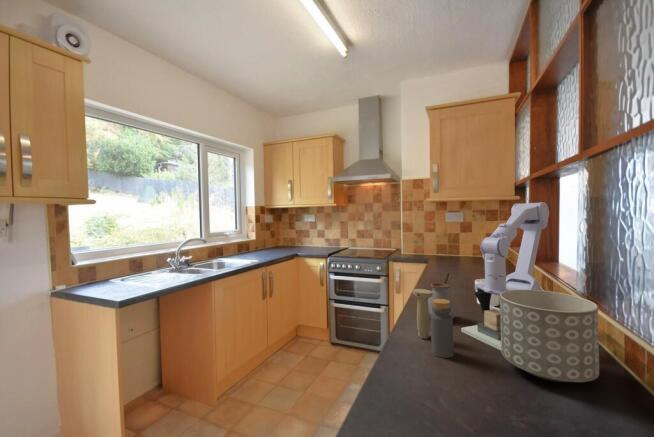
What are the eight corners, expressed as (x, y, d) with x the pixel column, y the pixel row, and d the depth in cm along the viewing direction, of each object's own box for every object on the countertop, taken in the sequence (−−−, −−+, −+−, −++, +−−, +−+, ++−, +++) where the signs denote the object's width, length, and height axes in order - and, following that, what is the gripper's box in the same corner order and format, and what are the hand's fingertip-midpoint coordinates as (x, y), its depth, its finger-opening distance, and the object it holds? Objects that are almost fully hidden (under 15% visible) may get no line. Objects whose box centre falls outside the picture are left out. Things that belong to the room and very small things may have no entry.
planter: (608, 407, 57) (606, 317, 57) (498, 378, 68) (497, 303, 68) (591, 365, 73) (589, 295, 73) (503, 347, 84) (502, 286, 84)
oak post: (494, 330, 93) (494, 309, 93) (507, 335, 89) (506, 313, 89) (484, 332, 92) (484, 310, 92) (496, 337, 88) (496, 315, 88)
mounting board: (490, 325, 100) (489, 305, 100) (536, 344, 85) (536, 320, 85) (461, 331, 96) (460, 310, 96) (504, 352, 81) (503, 327, 81)
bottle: (452, 350, 83) (451, 298, 83) (454, 359, 78) (453, 304, 78) (431, 347, 85) (430, 297, 85) (431, 356, 80) (430, 303, 79)
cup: (506, 307, 120) (506, 283, 120) (482, 307, 120) (482, 284, 120) (493, 300, 130) (492, 278, 130) (471, 300, 130) (470, 279, 130)
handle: (428, 342, 88) (427, 294, 88) (410, 336, 93) (409, 290, 93) (436, 338, 92) (435, 291, 91) (418, 332, 96) (417, 288, 96)
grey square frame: (498, 327, 96) (498, 319, 96) (520, 335, 89) (520, 327, 89) (477, 331, 93) (477, 323, 93) (498, 340, 86) (498, 332, 86)
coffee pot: (452, 326, 101) (451, 284, 101) (420, 320, 108) (419, 280, 108) (464, 309, 118) (463, 273, 118) (435, 305, 125) (435, 271, 125)
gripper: (467, 272, 96) (468, 312, 96) (506, 280, 82) (508, 327, 83) (483, 270, 99) (484, 309, 99) (524, 278, 85) (525, 323, 85)
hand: (496, 317), depth 91 cm, fingers open, 7 cm apart
